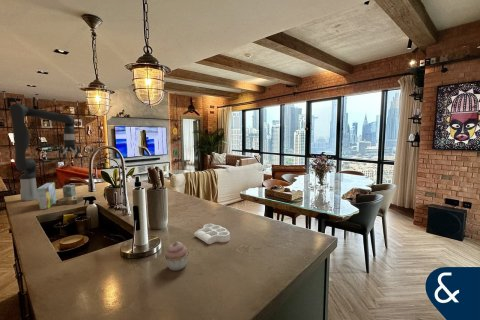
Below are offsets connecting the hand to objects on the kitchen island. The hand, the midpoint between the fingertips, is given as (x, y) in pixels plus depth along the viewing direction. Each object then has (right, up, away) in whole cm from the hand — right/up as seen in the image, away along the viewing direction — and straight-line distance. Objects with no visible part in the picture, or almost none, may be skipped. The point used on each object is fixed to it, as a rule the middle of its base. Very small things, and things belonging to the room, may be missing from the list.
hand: (70, 158), depth 197 cm
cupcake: (+119, -42, -109) cm, 167 cm away
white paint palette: (+130, -39, -83) cm, 159 cm away
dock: (+14, -33, -20) cm, 41 cm away
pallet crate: (+14, -30, -20) cm, 39 cm away
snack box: (+2, -35, -26) cm, 43 cm away
